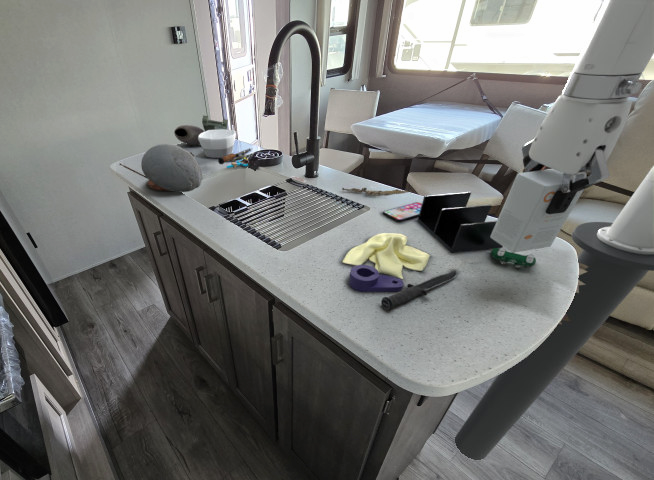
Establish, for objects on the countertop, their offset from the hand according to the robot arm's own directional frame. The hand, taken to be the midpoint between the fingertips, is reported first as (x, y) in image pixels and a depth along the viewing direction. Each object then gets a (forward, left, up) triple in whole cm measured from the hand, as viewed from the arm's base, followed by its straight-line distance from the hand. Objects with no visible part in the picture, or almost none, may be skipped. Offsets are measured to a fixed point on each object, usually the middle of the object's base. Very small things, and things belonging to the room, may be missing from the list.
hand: (538, 203), depth 58 cm
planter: (+77, -137, -13) cm, 158 cm away
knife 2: (+14, -3, -21) cm, 25 cm away
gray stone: (+74, -80, -7) cm, 109 cm away
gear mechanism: (+44, -97, -18) cm, 108 cm away
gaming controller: (-11, -10, -21) cm, 26 cm away
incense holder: (+82, -86, -21) cm, 120 cm away
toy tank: (+59, -148, -10) cm, 160 cm away
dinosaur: (+43, -108, -17) cm, 117 cm away
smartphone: (0, -41, -21) cm, 46 cm away
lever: (+24, -7, -21) cm, 33 cm away
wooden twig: (+3, -59, -19) cm, 62 cm away
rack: (-7, -26, -21) cm, 34 cm away
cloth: (+17, -18, -21) cm, 32 cm away
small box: (0, 0, -8) cm, 8 cm away
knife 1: (+52, -115, -20) cm, 128 cm away
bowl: (+58, -120, -21) cm, 135 cm away
